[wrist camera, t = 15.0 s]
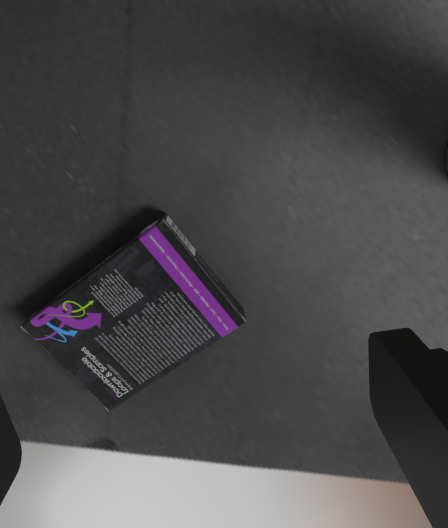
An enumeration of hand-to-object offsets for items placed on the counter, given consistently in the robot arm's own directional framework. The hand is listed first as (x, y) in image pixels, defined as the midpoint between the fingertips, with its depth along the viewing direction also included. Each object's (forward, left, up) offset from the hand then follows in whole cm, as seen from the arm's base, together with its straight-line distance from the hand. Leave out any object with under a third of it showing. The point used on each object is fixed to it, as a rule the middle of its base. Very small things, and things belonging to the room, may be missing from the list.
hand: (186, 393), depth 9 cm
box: (+10, +14, -34) cm, 38 cm away
